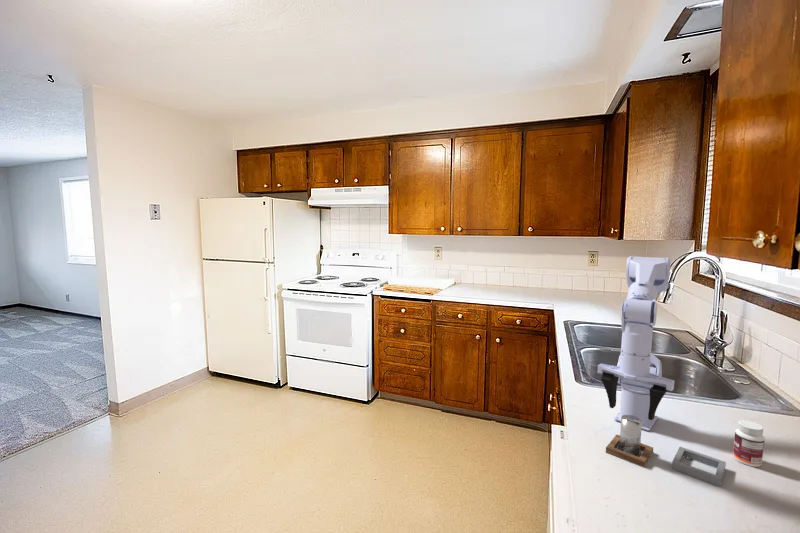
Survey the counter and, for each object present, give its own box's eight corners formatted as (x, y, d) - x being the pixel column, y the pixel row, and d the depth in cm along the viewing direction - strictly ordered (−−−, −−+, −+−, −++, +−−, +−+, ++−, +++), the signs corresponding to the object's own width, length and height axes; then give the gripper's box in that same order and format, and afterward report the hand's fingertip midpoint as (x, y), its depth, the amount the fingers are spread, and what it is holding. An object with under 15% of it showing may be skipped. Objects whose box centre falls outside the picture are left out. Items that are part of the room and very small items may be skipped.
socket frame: (616, 439, 92) (616, 434, 92) (653, 452, 87) (653, 447, 86) (605, 452, 87) (605, 447, 87) (644, 467, 81) (644, 462, 81)
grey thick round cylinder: (622, 445, 89) (624, 413, 89) (641, 452, 87) (644, 419, 86) (616, 452, 87) (618, 419, 86) (636, 460, 84) (639, 425, 83)
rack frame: (679, 452, 87) (679, 446, 86) (725, 468, 81) (725, 461, 81) (671, 468, 81) (672, 461, 81) (720, 486, 75) (721, 479, 75)
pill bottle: (732, 451, 87) (735, 416, 86) (760, 459, 84) (764, 423, 83) (732, 461, 83) (736, 425, 82) (762, 470, 80) (766, 432, 79)
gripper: (594, 348, 87) (590, 406, 88) (671, 364, 77) (665, 429, 77) (605, 343, 92) (601, 398, 93) (678, 358, 82) (673, 419, 82)
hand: (631, 412), depth 85 cm, fingers open, 7 cm apart
